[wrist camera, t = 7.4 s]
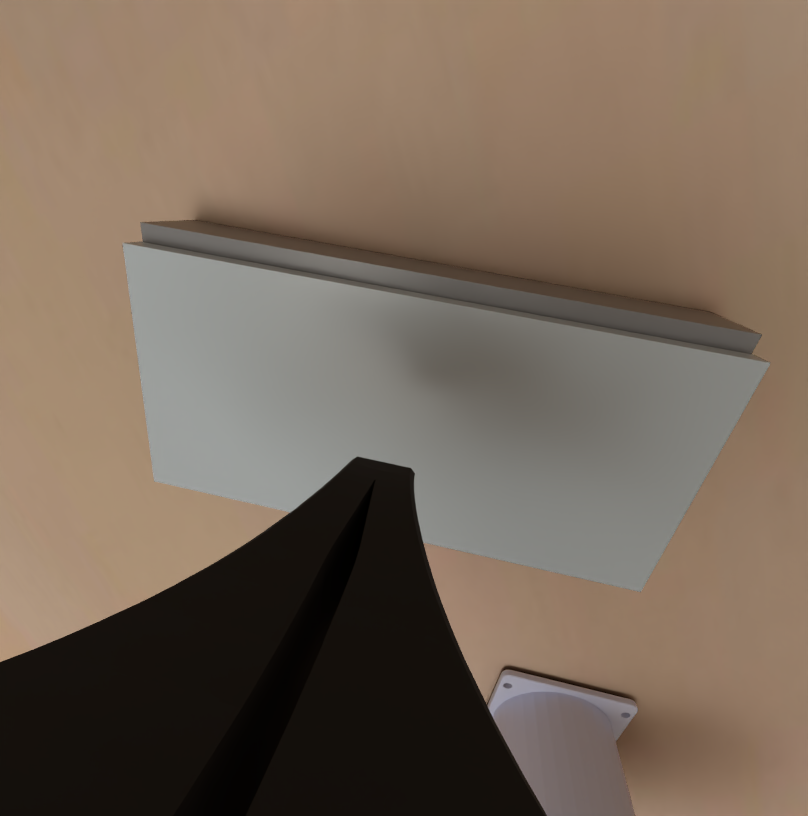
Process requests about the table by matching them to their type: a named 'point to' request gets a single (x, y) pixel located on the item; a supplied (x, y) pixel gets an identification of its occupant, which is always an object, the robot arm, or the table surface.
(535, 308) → the panel
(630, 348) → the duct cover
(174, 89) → the table surface
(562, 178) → the table surface
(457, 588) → the table surface
